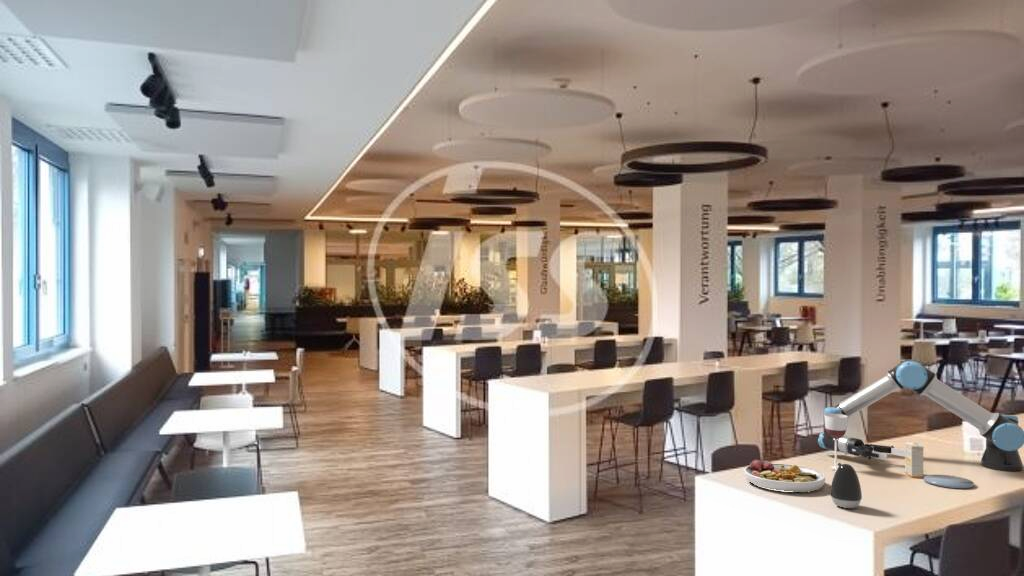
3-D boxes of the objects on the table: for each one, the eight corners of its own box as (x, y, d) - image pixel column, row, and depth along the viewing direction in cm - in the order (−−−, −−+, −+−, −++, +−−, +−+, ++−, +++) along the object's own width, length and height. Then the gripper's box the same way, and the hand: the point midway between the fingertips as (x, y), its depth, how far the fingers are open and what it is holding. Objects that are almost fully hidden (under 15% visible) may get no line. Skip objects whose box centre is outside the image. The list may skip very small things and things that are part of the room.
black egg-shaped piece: (852, 502, 262) (852, 460, 262) (867, 511, 252) (867, 467, 252) (824, 502, 262) (825, 460, 262) (838, 511, 252) (838, 467, 252)
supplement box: (924, 478, 296) (924, 446, 296) (911, 477, 297) (911, 445, 297) (917, 473, 304) (917, 442, 304) (904, 472, 305) (904, 441, 305)
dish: (939, 476, 300) (939, 472, 300) (982, 485, 286) (982, 482, 286) (914, 481, 292) (915, 477, 292) (958, 491, 277) (958, 487, 277)
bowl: (838, 485, 286) (838, 465, 286) (803, 500, 265) (803, 479, 265) (766, 471, 308) (766, 453, 308) (729, 484, 287) (729, 464, 287)
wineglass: (826, 471, 308) (826, 417, 308) (822, 465, 317) (822, 413, 318) (849, 472, 306) (850, 418, 306) (844, 466, 315) (845, 414, 315)
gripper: (868, 451, 332) (914, 461, 313) (833, 457, 320) (878, 467, 301) (869, 435, 332) (914, 443, 313) (833, 440, 320) (878, 449, 301)
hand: (896, 455), depth 307 cm, fingers open, 13 cm apart
